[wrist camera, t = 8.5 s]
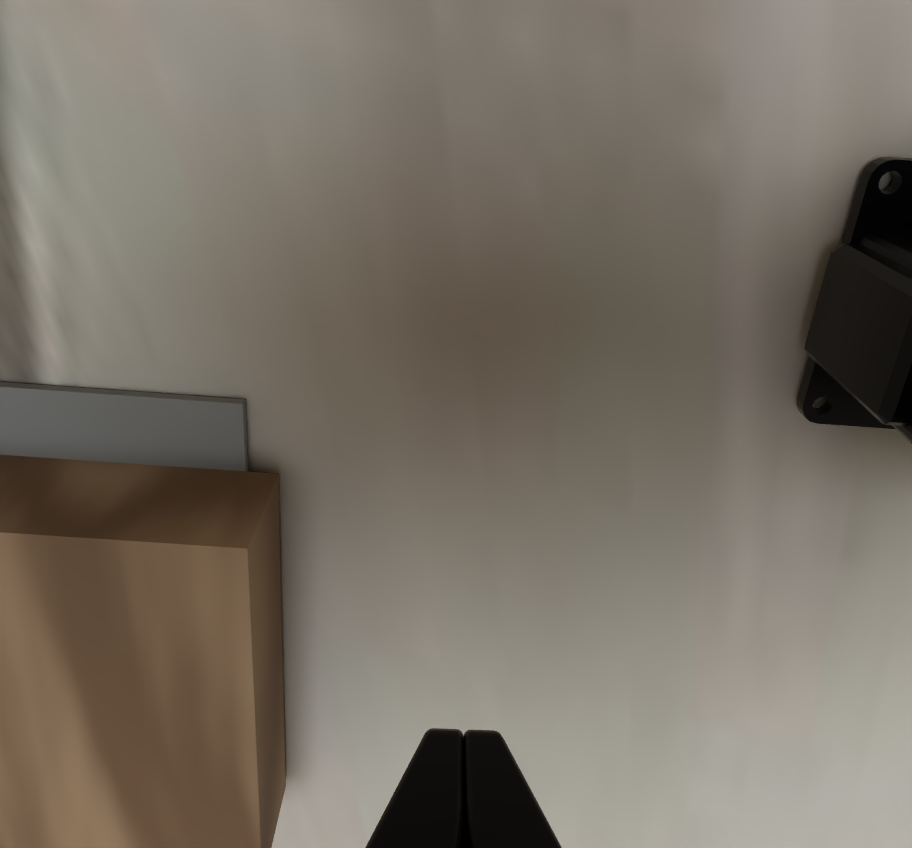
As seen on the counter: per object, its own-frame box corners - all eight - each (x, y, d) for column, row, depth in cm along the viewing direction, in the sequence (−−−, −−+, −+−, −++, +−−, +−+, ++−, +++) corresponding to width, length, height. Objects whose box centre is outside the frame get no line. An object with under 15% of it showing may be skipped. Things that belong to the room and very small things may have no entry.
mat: (245, 399, 21) (242, 403, 21) (262, 817, 28) (260, 824, 28) (-184, 368, 21) (-192, 373, 20) (-58, 798, 28) (-63, 806, 27)
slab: (247, 548, 19) (-151, 522, 18) (262, 885, 24) (-47, 868, 24) (278, 473, 22) (-61, 450, 21) (285, 785, 27) (13, 769, 27)
